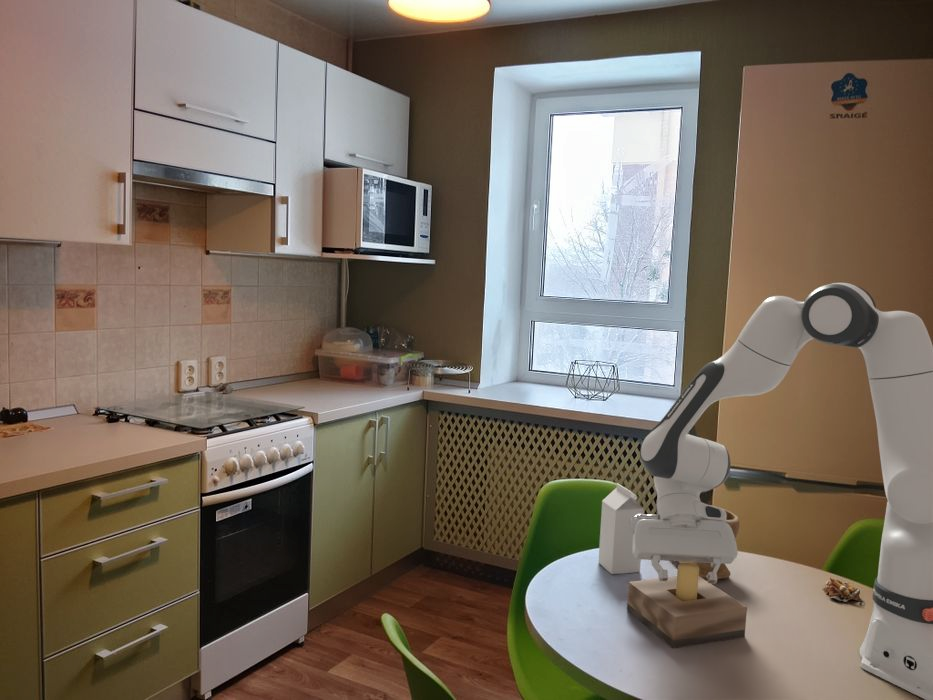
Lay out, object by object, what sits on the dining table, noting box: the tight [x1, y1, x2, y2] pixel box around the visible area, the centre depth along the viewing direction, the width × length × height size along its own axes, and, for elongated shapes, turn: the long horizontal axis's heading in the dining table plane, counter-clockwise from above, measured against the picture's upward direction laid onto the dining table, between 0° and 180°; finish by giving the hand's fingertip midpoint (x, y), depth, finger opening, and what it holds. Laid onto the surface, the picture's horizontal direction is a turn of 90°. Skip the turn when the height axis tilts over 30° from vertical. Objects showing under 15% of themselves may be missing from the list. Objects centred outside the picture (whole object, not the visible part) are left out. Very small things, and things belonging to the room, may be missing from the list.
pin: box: [676, 563, 699, 601], centre depth 155 cm, size 4×4×10 cm
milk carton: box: [598, 482, 645, 575], centre depth 181 cm, size 7×7×19 cm
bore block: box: [626, 575, 748, 649], centre depth 155 cm, size 16×16×6 cm
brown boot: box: [677, 504, 740, 580], centre depth 182 cm, size 15×12×15 cm
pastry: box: [822, 576, 865, 606], centre depth 173 cm, size 7×12×4 cm, turn 172°
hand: (688, 581), depth 154 cm, fingers open, 8 cm apart
